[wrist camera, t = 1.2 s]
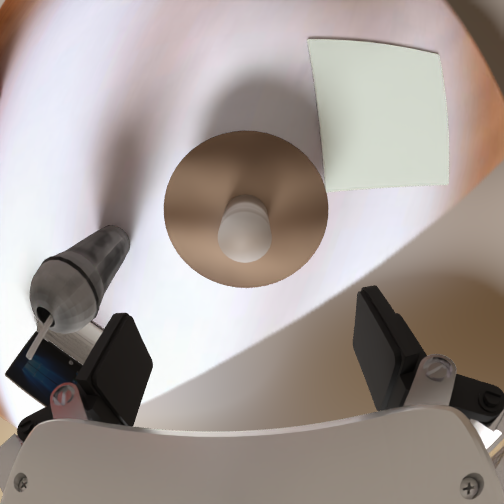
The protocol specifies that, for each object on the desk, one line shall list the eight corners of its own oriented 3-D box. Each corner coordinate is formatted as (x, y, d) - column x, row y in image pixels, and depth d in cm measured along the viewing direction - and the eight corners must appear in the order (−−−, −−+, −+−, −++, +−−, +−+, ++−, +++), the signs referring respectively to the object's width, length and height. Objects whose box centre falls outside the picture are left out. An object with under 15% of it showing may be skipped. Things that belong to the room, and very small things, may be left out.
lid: (152, 147, 22) (123, 155, 16) (318, 122, 21) (341, 122, 15) (186, 289, 27) (173, 327, 22) (327, 272, 27) (344, 308, 21)
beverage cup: (88, 211, 30) (-26, 301, 12) (139, 217, 30) (36, 327, 12) (92, 264, 33) (6, 369, 15) (141, 272, 34) (68, 398, 15)
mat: (306, 40, 22) (307, 39, 22) (436, 55, 21) (439, 54, 21) (325, 191, 29) (326, 192, 29) (446, 184, 29) (448, 184, 28)
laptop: (138, 350, 40) (113, 415, 28) (114, 381, 44) (93, 436, 32) (48, 286, 35) (2, 337, 23) (38, 328, 39) (4, 375, 27)
